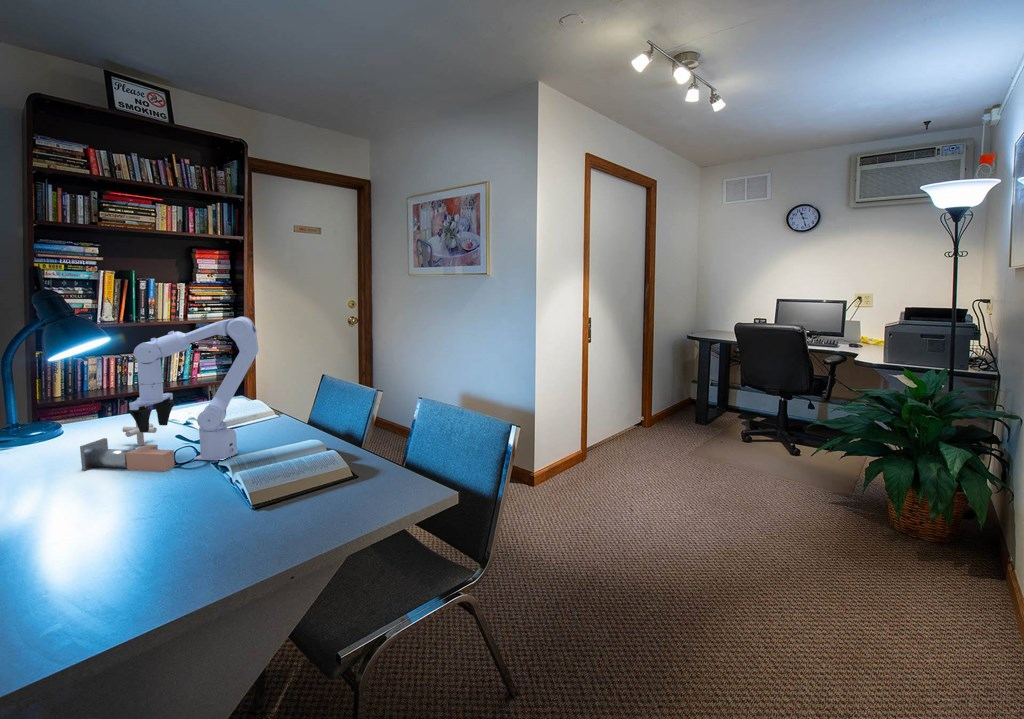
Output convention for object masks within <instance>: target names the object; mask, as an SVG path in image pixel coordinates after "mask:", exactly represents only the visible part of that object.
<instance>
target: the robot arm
mask: <svg viewBox="0 0 1024 719" xmlns="http://www.w3.org/2000/svg"><path fill="white" fill-rule="evenodd" d="M257 333H258V330H257V328H256V326H255V324H254V322H253V321H252V320H251V319H250V318H249V317H247V316H238V317H236V318H228V319H223V320H219V321H216V322H212V323H211V324H208V325H207V324H206V325H205V326H202V327H199V328H197V329H194V330H192V331H189V332H186V333H185V332H182V331H174V330H171V331H169V332H168V333H167V334H166V335H163V336H160V337H158V338H156V337H152V338H150V341H146V342H141V343H139V344H138V345H137V346H136V347H135V348H134V350H133V356H134V359H135V360H136V361H137V362H136V364H137V380H138V381H137V382H138V390H139V397H137V398H136V400H134V401H132V402H129V403H128V405H129V408H128V409H127V410H128V413H129V414H130V416H131V417H132V418H133V419H134V422H135V424H136V423H137V426H138V428H139V431H140V432H148V431H149V424H150V417H151V413H152V410H153V409H152V408H146V407H149V406H154V408H155V411H156V415H157V423H158V425H159V426H168V424H169V421H170V420H169V418H170V414H171V412H172V409H173V407H174V406H175V404H176V402H175V400H173V399H174V398H173V397H174V396H173V395H174V394H173V392H165V393H164V385H163V371H162V370H163V369H162V362H161V358H166V357H169V356H171V355H175V354H177V353H180V352H183V351H186V350H188V349H189V346H190V344H191V343H195V342H198V341H200V340H203V339H207V338H210V337H213V336H222V337H227V336H229V337H230V338H231V339H232V340H233V341H234V342H235V344H236V346H237V348H238V350H239V352H238V354H237V356H236V357H235V359H234V361H233V363H232V364H231V366H230V368H229V370H228V372H227V373H226V375H225V377H224V378H223V380H222V382H221V383H220V385H219V387H218V389H217V391H216V393H215V394H214V395H213V398H212V399H211V401H210V402H209V404H208V405H207V406H205V408H204V410H203V411H201V412H200V413H199V414H198V416H197V419H196V423H197V426H199V427H198V432H199V433H198V435H199V449H200V450H199V451H200V453H199V455H197V456H195V457H194V458H193V460H196V461H197V460H199V461H218V460H220V459H224V458H228V457H230V458H231V456H232V457H233V456H235V455H237V454H239V453H240V452H239V450H238V445H237V443H238V442H237V440H238V439H237V433H236V431H235V429H232V428H228V426H227V424H226V422H224V420H225V419H226V416H227V408H228V406H229V404H230V402H232V401H231V400H232V399H233V397H234V395H235V394H236V392H237V390H238V388H239V386H241V383H242V382H243V379H244V378H245V376H246V374H247V372H248V370H249V369H250V368H251V366H252V363H253V362H254V360H255V358H256V357H257V355H258V353H259V342H258V334H257ZM228 459H229V458H228Z"/></svg>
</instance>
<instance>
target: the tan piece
mask: <svg viewBox="0 0 1024 719" xmlns="http://www.w3.org/2000/svg"><path fill="white" fill-rule="evenodd" d="M158 448H159V447H158V445H156V444H144V445H142V446H139V447H137V448H135V449H131V450H132V451H130V452H127V453H126V459H127V468H126V469H127V471H140V472H141V471H142V472H143V471H144V472H167V471H169V470H172V469H173V468H175V467H176V465H175V464H176V463H175V451H174V449H158Z"/></svg>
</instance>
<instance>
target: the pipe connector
mask: <svg viewBox="0 0 1024 719" xmlns="http://www.w3.org/2000/svg"><path fill="white" fill-rule="evenodd" d="M121 429H122V432H123V433H125V437H127V438H129V437H130V438H131V437H133V436H136V440H137V446H138V447H142V446H145V438H144V437H145V434H146V433H147V434H156V432H157V431H158V429H157V427H155V426H154V424H153V423H152V422H151V423H150V422H149V431H148V432H140V431H139V428H138V426H137V423H136V422H135V426H123V427H122V428H121ZM144 433H145V434H144Z"/></svg>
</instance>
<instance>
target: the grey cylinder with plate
mask: <svg viewBox="0 0 1024 719" xmlns="http://www.w3.org/2000/svg"><path fill="white" fill-rule="evenodd" d="M79 450H80V459H81V460H80V462H81V471H84V472H85V471H88V470H90V469H93V468H95V467H98V468H99V467H100V468H101V467H103V468H124V469H125V468H126V469H127V459H126V453H127V452H130V451H132V450H133V449H116V448H113V449H112V448H109V443H108V437H106V438H105V437H102V438H101V439H97V440H94V441H92V442H89V443H86V444H82V445H80V446H79Z"/></svg>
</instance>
